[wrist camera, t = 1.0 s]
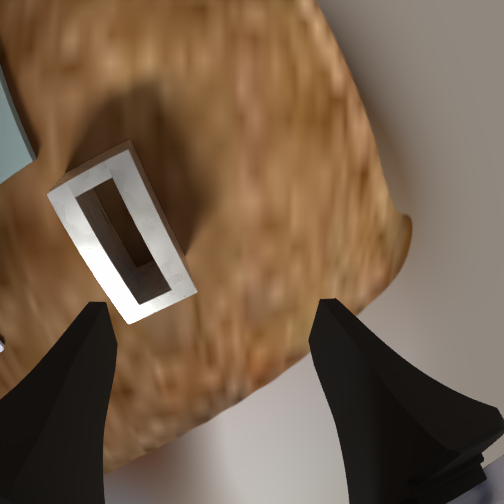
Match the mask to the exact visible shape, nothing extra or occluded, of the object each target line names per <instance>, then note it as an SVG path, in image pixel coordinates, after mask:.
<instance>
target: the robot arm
mask: <svg viewBox="0 0 504 504" xmlns="http://www.w3.org/2000/svg"><path fill="white" fill-rule="evenodd" d="M117 345H118V344H117V341H116V337H115V334H114V330H113V327H112V323H111V319H110V315H109V312H108V308H107V304H106V302H89V303H88V304H87V305H86V306H85V308H84V309H83V310H82V311H81V312H80V314H79V315H78V316H77V317H76V319H75V320H74V321H73V322H72V324H71V325H70V326H69V327H68V329H67V330H66V331H65V332H64V333H63V335H62V336H61V337H60V338H59V340H58V341H57V342H56V343H55V345H54V346H53V347H52V348H51V349H50V350H49V352H48V353H47V354H46V355H45V356H44V357H43V358H42V360H41V361H40V362H39V363H38V364H37V365H36V366H35V367H34V369H33V370H32V371H31V372H30V373H29V374H28V375H27V376H26V377H25V378H24V379H23V380H22V381H21V382H20V383H19V384H18V385H17V386H15V387H14V388H13V389H12V390H11V391H10V392H9V393H7V394H6V395H5V396H4V397H3V398H2V399H0V504H105V499H104V485H103V436H104V427H105V420H106V415H107V409H108V404H109V398H110V393H111V388H112V383H113V378H114V373H115V366H116V356H117ZM309 345H310V350H311V354H312V359H313V362H314V366H315V369H316V372H317V375H318V377H319V380H320V382H321V385H322V388H323V391H324V393H325V396H326V399H327V401H328V404H329V407H330V409H331V412H332V415H333V418H334V421H335V424H336V428H337V433H338V437H339V441H340V445H341V450H342V455H343V461H344V466H345V472H346V478H347V485H348V493H349V503H350V504H504V455H502V456H501V457H499V458H498V459H496V460H495V461H493V462H492V463H490V464H489V465H487V466H486V467H484V468H483V469H482V466H481V465H480V463H482V462H483V461H484V457H483V455H482V452H483V451H484V450H486V449H487V448H488V447H489V446H490V445H492V444H493V443H494V442H495V441H496V440H497V439H498V438H500V437H501V436H502V435H503V434H504V419H503V417H502V415H501V414H500V412H499V410H498V409H497V408H496V407H493V406H490V405H487V404H484V403H482V402H479V401H476V400H474V399H471V398H469V397H467V396H465V395H463V394H460V393H458V392H456V391H454V390H452V389H450V388H448V387H446V386H445V385H443V384H441V383H440V382H438V381H436V380H434V379H433V378H431V377H429V376H428V375H426V374H425V373H423V372H422V371H420V370H419V369H417V368H416V367H414V366H413V365H411V364H410V363H409V362H407V361H406V360H405V359H403V358H402V357H401V356H400V355H398V354H397V353H396V352H395V351H394V350H392V349H391V348H390V347H389V346H387V345H386V344H385V343H384V342H383V341H382V340H381V339H379V338H378V337H377V336H376V335H375V334H374V333H373V332H371V330H369V329H368V328H367V327H366V326H365V325H364V324H363V323H362V322H361V321H360V320H359V319H358V318H357V317H356V316H355V315H354V314H352V313H351V312H350V311H349V310H348V309H347V308H346V307H345V306H344V305H343V304H342V303H341V302H340V301H338V300H337V299H336V298H334V299H320V301H319V305H318V308H317V312H316V315H315V319H314V323H313V326H312V329H311V333H310V336H309ZM4 347H5V346H4V344H3V343H2V342H1V341H0V352H1V351H3V350H4Z"/></svg>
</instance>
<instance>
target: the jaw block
mask: <svg viewBox="0 0 504 504" xmlns="http://www.w3.org/2000/svg"><path fill="white" fill-rule="evenodd" d="M110 178H113V180H114V182H115V184H116V186H117V188H118V190H119V192H120V194H121V196H122V198H123V200H124V202H125V204H126V206H127V208H128V210H129V212H130V214H131V216H132V218H133V220H134V222H135V224H136V226H137V228H138V230H139V232H140V233H141V235H142V237H143V239H144V241H145V243H146V245H147V247H148V248H149V250H150V252H151V254H152V256H153V258H154V259H153V260H151V261H149V262H147V263H145V264H143V265H141V266H139V267H136V266H135V264H134V262H133V261H132V259H131V257H130V255H129V254H128V252H127V250H126V249H125V247H124V245H123V243H122V241H121V240H120V238H119V236H118V234H117V232H116V231H115V229H114V227H113V225H112V223H111V221H110V220H109V218H108V216H107V214H106V212H105V210H104V208H103V206H102V204H101V202H100V201H99V199H98V197H97V195H96V193H95V191H94V189H93V187H95V186H97V185H99V184H101V183H102V182H104V181H106V180H108V179H110ZM47 196H48V198H49V200H50V201H51V203H52V205H53V207H54V209H55V211H56V213H57V214H58V216H59V218H60V220H61V222H62V223H63V225H64V227H65V229H66V230H67V232H68V234H69V235H70V237H71V239H72V240H73V242H74V244H75V245H76V247H77V249H78V250H79V252H80V254H81V255H82V257H83V258H84V260H85V262H86V263H87V265H88V266H89V268H90V269H91V271H92V272H93V274H94V276H95V277H96V279H97V280H98V282H99V283H100V285H101V286H102V288H103V289H104V290H105V292H106V293H107V295H108V296H109V298H110V299H111V301H112V302H113V303H114V305H115V306H116V308H117V309H118V310H119V312H120V313H121V315H122V316H123V317H124V319H125V320H126V321H127V323H128V324H131V323H133V322H135V321H137V320H139V319H142V318H144V317H146V316H148V315H150V314H152V313H155V312H157V311H159V310H161V309H163V308H165V307H168V306H170V305H172V304H174V303H176V302H178V301H180V300H183V299H185V298H187V297H189V296H191V295H193V294H195V293H197V292H198V291H197V289H196V286H195V283H194V280H193V278H192V275H191V272H190V269H189V266H188V263H187V260H186V258H185V255H184V253H183V251H182V249H181V247H180V245H179V243H178V241H177V239H176V237H175V235H174V233H173V231H172V229H171V227H170V225H169V223H168V221H167V218H166V216H165V214H164V212H163V210H162V208H161V206H160V204H159V201H158V199H157V197H156V195H155V193H154V191H153V188H152V186H151V184H150V182H149V180H148V177H147V175H146V173H145V171H144V169H143V166H142V164H141V162H140V159H139V157H138V155H137V153H136V150H135V148H134V146H133V143H132V141H131V139H129V140H127V141H125V142H123V143H121V144H119V145H117V146H115V147H113V148H111V149H109V150H107V151H105V152H103V153H101V154H99V155H97V156H95V157H93V158H92V159H90V160H88V161H86V162H84V163H82V164H81V165H79V166H77V167H75V168H74V169H72V170H70V171H68V172H67V173H65V174H64V175H63V176H62V177H61V178H60V179H59V180H58V182H57V183H56V184H55V185H54V186H53V187H52V188H51V189H50V191H49V192H48V193H47Z"/></svg>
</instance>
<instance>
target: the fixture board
mask: <svg viewBox="0 0 504 504" xmlns="http://www.w3.org/2000/svg"><path fill="white" fill-rule="evenodd" d="M36 159H37V158H36V156H35V153H34V151H33V149H32V147H31V144H30V142H29V140H28V138H27V135H26V133H25V130H24V128H23V126H22V123H21V121H20V118H19V116H18V113H17V111H16V108H15V105H14V103H13V100H12V97H11V95H10V92H9V89H8V86H7V83H6V80H5V77H4V74H3V71H2V68H1V65H0V184H1V183H2V182H4V181H5V180H6V179H8V178H9V177H11V176H12V175H13V174H15V173H16V172H18V171H19V170H21V169H22V168H24V167H25V166H27V165H28V164H30V163H31V162H33V161H34V160H36Z"/></svg>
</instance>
